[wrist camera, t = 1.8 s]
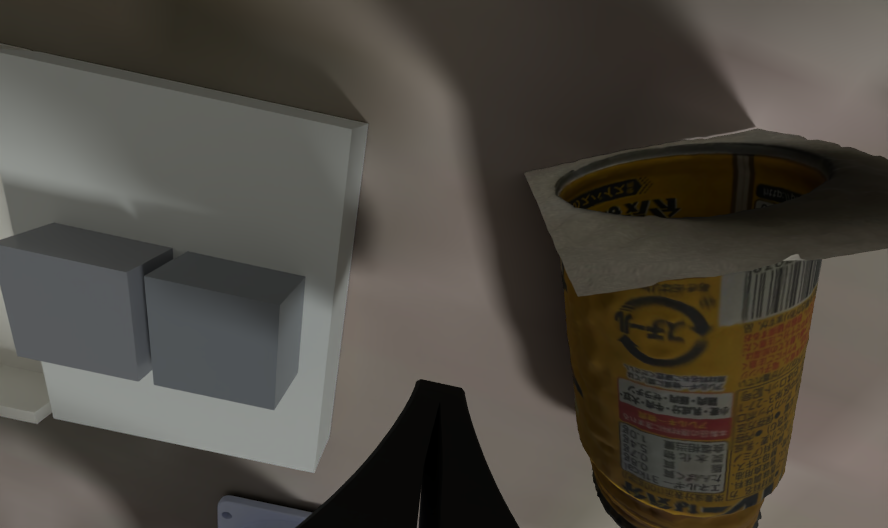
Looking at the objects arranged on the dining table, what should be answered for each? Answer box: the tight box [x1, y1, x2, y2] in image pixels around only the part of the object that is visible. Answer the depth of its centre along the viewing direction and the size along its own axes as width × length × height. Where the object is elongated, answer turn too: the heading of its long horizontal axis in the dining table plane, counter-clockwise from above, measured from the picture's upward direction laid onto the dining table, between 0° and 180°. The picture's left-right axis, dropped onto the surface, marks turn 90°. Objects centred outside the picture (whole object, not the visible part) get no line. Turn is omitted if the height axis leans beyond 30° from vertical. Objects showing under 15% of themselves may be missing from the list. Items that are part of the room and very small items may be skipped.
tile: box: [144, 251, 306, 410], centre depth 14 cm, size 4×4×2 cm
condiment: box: [523, 129, 888, 528], centre depth 12 cm, size 7×8×12 cm
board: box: [0, 49, 368, 473], centre depth 16 cm, size 14×11×2 cm
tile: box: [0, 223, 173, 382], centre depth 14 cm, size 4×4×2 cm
